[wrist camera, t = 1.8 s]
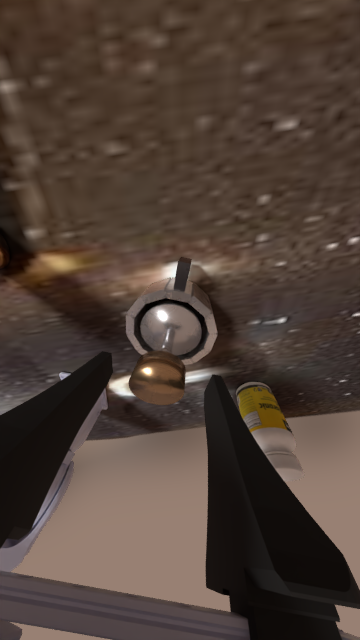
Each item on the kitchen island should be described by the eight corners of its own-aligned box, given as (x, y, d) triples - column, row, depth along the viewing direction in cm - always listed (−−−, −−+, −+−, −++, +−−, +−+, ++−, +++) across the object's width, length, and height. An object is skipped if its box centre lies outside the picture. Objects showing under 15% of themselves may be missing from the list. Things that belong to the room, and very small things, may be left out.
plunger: (193, 357, 17) (192, 421, 11) (140, 346, 17) (111, 405, 11) (208, 310, 13) (219, 366, 8) (143, 296, 13) (104, 342, 8)
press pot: (200, 349, 20) (202, 372, 17) (137, 335, 20) (126, 356, 17) (230, 266, 14) (241, 276, 11) (142, 246, 14) (125, 250, 11)
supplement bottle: (277, 389, 23) (325, 477, 15) (252, 404, 26) (280, 486, 17) (252, 375, 22) (287, 462, 14) (228, 392, 25) (245, 474, 16)
